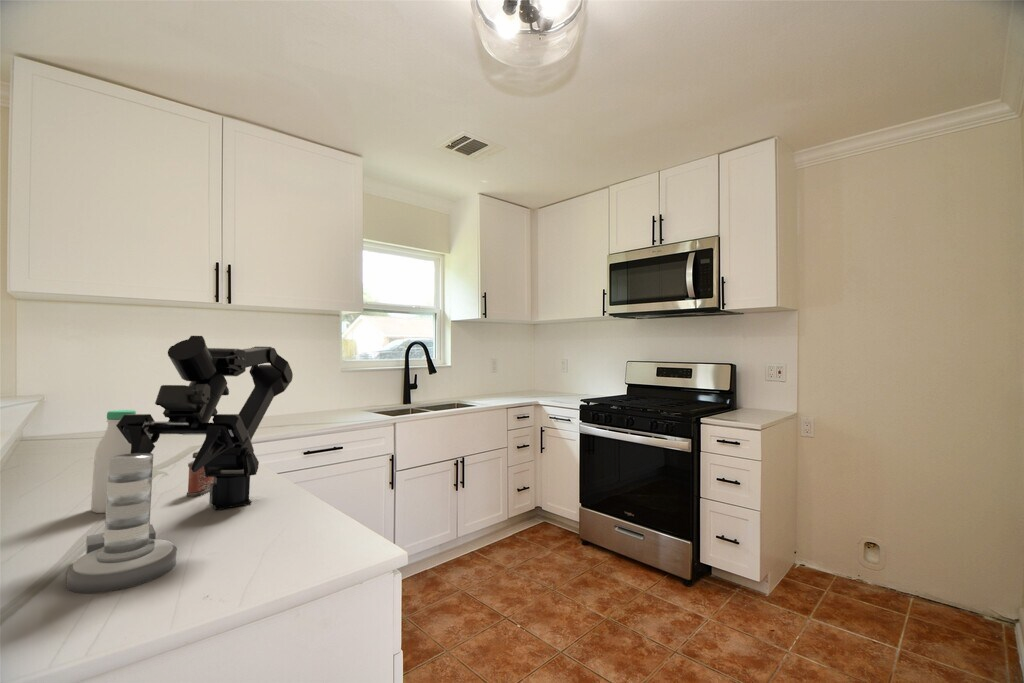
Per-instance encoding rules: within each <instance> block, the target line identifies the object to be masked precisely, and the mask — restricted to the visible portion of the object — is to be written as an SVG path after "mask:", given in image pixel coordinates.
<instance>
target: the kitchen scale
mask: <svg viewBox="0 0 1024 683" xmlns="http://www.w3.org/2000/svg"><path fill="white" fill-rule="evenodd" d="M156 535H157V533H156V530H155V527H154V525H153V524H152V523H150V527H149V539H153V540H154V541H155V544H154V550H153V551H152V552H151V553H149V554H147V555H145V556H143V557H140V558H137V559H134V560H130V561H125V562H119V563H100V562H98V561H97V551H98V550H99V549H101V548H102V547H104V537H105V532H101V533H97V534H96V533H95V534H91V535H86V544H85V554H83V555H81V556H80V557H79V558H77V559H75V561H74V562H73V563H72V564H71V565H69V567H68V569H67V572H66V573H67V576H66V588H67V589H68V590H69V591H71V592H74V593H79V594H99V593H107V592H113V591H118V590H119V591H120V590H123V589H128V588H132V587H135V586H140V585H142V584H144V583H148V582H150V581H153V580H155V579H157V578H160V577H162V576H163V575H165V574H167V573H169V572H170V571H171V570H172V569H174V567H175V566H176V565H177V553H178V552H177V550H178V548H177V546H176V545H174V544H173V543H172V542H171V541H169V540H165V539H156Z"/></svg>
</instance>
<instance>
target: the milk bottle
mask: <svg viewBox="0 0 1024 683" xmlns="http://www.w3.org/2000/svg"><path fill="white" fill-rule="evenodd" d="M127 414H137V412H136V410H135V409H118V410H116V409H115V410H108V411H107V412H106V422H107V427H106V430H105V431H104V434H103V436H102V437H101V439H100V441H99V442H98V443H97V447H96V450H95V453H94V462H93V471H92V472H93V473H92V488H91V490H92V491H91V505H90V506H91V508H90V510H91V511H92V512H93V513H96V514H106V502H107V485H108V467H109V458H110V457H112V456H117V455H122V454H131V444H129V443H128V441H127V440H126V439H125V437H124V436H123V434H122V433H121V432H120V430H119V429H118V428H117V426H116V425H117V423H118V422H119V421H120V419H121V418H122V417H123V416H124V415H127Z"/></svg>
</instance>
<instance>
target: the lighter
mask: <svg viewBox="0 0 1024 683" xmlns="http://www.w3.org/2000/svg"><path fill="white" fill-rule="evenodd" d="M198 452H199V450H197V451H194V452H192V459H195V458H196V456H197V454H198ZM193 463H194V460H192V461H190V462H188V463H187V467H188V480H187V482H188V483H187V484H188V485H187V492H186V498H188V499H193V498H198V497H201V495H202V496H205V495H206V493H207V494H209V493H210V484H211V483H213V480H214V477H206V476H205V470H204V466H203V467H202V468H200V469H199V470H198V471H197V472H193V471H192V469H191V468H192V465H193ZM208 492H209V493H208ZM204 494H205V495H204Z"/></svg>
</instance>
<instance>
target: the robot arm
mask: <svg viewBox="0 0 1024 683" xmlns="http://www.w3.org/2000/svg"><path fill="white" fill-rule="evenodd" d="M277 352H278V351H277V350H276V348H275V347H273V346H254V347H253V346H252V347H250V348H249V347H248V348H243V349H241V348H229V347H228V348H227V347H226V348H225V347H224V348H223V347H221V348H219V347H216V348H215V347H208V346H207V343H206V340H205V338H204V336H203V335H190V336H189V337H188V339H184V340H181V341H178V342H176V343H175V344H173V345H171V346H170V347H169V348H168V350H167V355H168V358H169V359H170V362H171V363H172V364H173V366H174V368H175V370H176V371H177V373H178V374H179V377H181V380H184V381H186V382H189V384H188V385H185V384H184V385H183V384H180V385H179V384H178V385H177V384H173V385H172V384H162V385H160V388H159V390H158V393H157V396H156V400H155V402H154V405H155V406H159V407H161V408H163V409H164V411H163V412H162V414H163V415H164V418H168V421H155V419H154V418H153V416H152V415H151V414H150V413H149V414H148V413H144V414H143V413H142V414H141V413H136V414H127V415H124V416H123V417H122V418H121V419H120V421H119V422H118V423H117V425H116V426H117V428H118V429H119V430H120V432H121V433H122V434H123V436H124V437H125V439H126V440H127V441H128V443H129V444H131V453H152V452H153V451H154V449H155V448H156V445H155V444H154V443H157V442H158V440H159V438H160V436H161V435H182V436H205V439H204V440H203V443H202V444H201V447H200V448H199V450H198V451H199V452H198V454H197V456H196V458H194V460H193V461H194V463H193V465H192V468H191V469H192V471H193V472H197V471H198V470H199V469H200V468H202V467H203V466H204V470H205V476H206V477H214V480H213V483H211V484H210V492H209V500H208V502H209V503H210V504H209V505H211V506H212V507H213V508H214V509H215V510H216V511H217V510H223V509H230V508H234V507H235V506H236V507H240V505H241V506H246V505H245V504H247V505H251V504H252V500H251V499H250V489H251V487H250V484H251V476H256V475H257V473H258V470H259V463H260V462H259V460H258V458H257V456H256V454H255V452H254V451H255V450H254V447H253V442H252V439H253V437H254V435H255V434H256V431H257V429H258V428H259V426H260V424H261V423H262V420H263V418H264V416H265V414H266V412H267V411H268V408H269V407H270V405H271V403H272V401H273V399H274V398H275V397H276V396H278V395H280V394H282V393H284V392H286V389H287V388H288V386H289V385H290V384H291V383H292V381H293V375H294V374H293V371H292V368H291V366H290V363H289V361H288V360H286V359H285V358H284V357H282V356H281V355H279V353H277ZM246 368H250V370H249V371H248V372H249V375H250V376H251V378H252V382H253V384H254V387H253V389H252V391H251V392H250V394H249V396H248V397H247V398H246V401H245V402H244V404H243V406H242V408H241V409H240V411H239V413H234V414H233V413H229V414H228V413H224V414H223V413H221V414H220V413H218V410H217V406H218V404H219V402H220V400H221V399H222V397H223V396H229V394H230V389H229V387H228V381H227V379H226V378H225V377H239V376H240V375H241V374H243V373H245V372H246V371H247V370H246ZM211 418H212V419H211ZM210 420H212V422H210ZM250 503H251V504H250ZM236 507H235V508H236Z"/></svg>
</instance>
